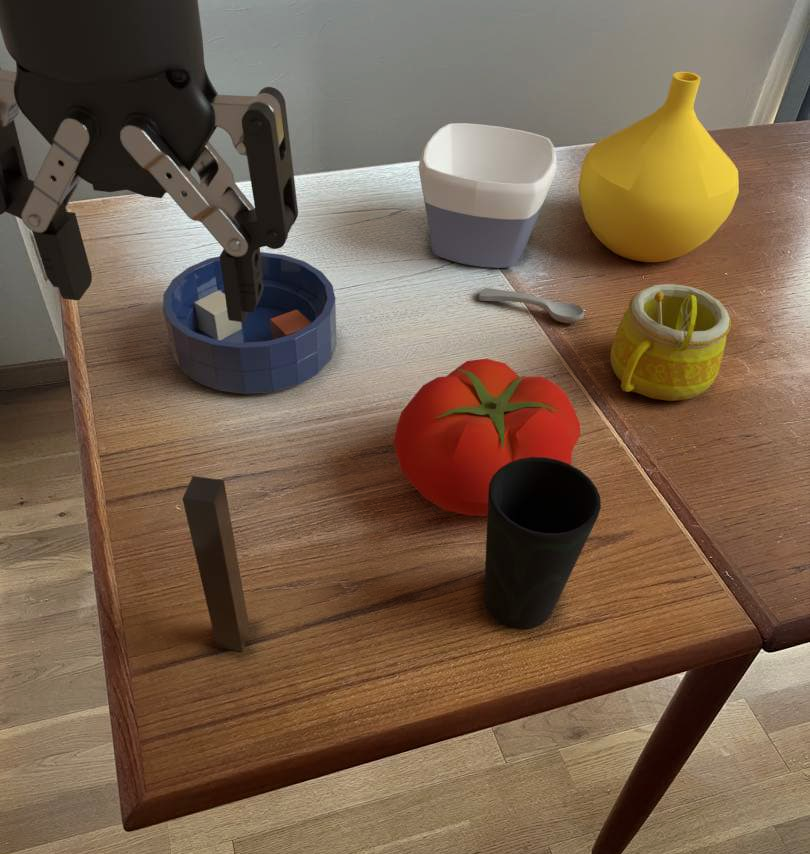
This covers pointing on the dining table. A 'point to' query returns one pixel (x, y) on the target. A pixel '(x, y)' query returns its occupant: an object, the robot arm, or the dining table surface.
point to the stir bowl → (254, 328)
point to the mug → (670, 342)
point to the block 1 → (215, 316)
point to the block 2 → (288, 324)
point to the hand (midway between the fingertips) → (160, 302)
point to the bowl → (484, 191)
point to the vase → (659, 182)
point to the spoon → (555, 309)
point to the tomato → (480, 431)
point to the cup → (534, 537)
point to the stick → (217, 560)
